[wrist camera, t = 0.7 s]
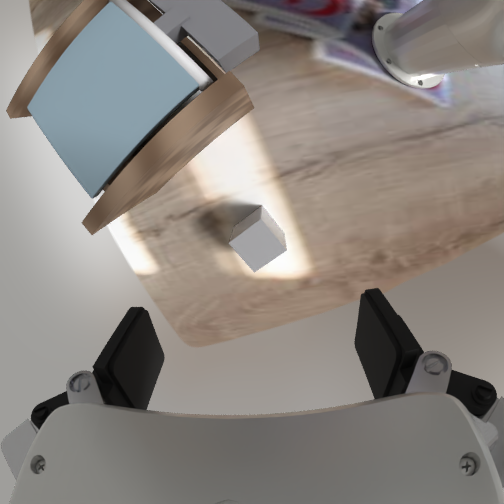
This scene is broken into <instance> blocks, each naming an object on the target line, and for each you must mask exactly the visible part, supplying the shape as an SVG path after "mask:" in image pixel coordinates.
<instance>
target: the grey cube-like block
mask: <svg viewBox="0 0 504 504" xmlns="http://www.w3.org/2000/svg"><path fill="white" fill-rule="evenodd" d="M229 244H230V246H231V247H232V248H233V249H234V250H235V251H236V252H237V253H238V254H239V256H240V257H241V258H242V259H243V260H244V261H245V262H246V263H247V265H248V266H249V267H250V268H251V269H252V270H253V271H254V272H256V271H257V270H259V269H260V268H261V267H263V266H264V265H266V264H267V263H269V262H270V261H272V260H273V259H275V258H276V257H278V256H279V255H280V254H282V253H283V252H285V251H286V250H287V248H286V242H285V236H284V232H283V231H282V230H281V228H280V227H279V226H278V225H277V223H276V222H275V221H274V220H273V218H272V217H271V216H270V215H269V213H268V212H267V211H266V210H265V208H264V207H263V206H261V207H259V208H258V209H257V210H255V211H254V212H253V213H251V214H250V215H249V216H247V217H246V218H245V219H243V220H242V221H241V222H239V223H238V224H237V225H236V226H234V228H233V231H232V234H231V237H230V240H229Z"/></svg>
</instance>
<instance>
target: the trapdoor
mask: <svg viewBox="0 0 504 504" xmlns="http://www.w3.org/2000/svg"><path fill="white" fill-rule="evenodd" d="M149 1H150V2H151V3H152V4H153V5H154V6H155V7H156V8H157V9H158V10H160V11H161V12H162V13H163V14H164V15H162V16H161V17H160V18H159V19H158V20H156V21H155V22H154V23H153V22H152V21H150V20H149V19H148V18H147V17H146V16H145V15H143V14H142V13H141V12H140V11H139V10H137V9H136V8H135V7H134V6H133V5H131V4H130V3H129V2H128V1H126V0H109V3H108V4H107V5H106V6H105V7H104V8H103V9H102V10H101V11H100V12H99V13H98V14H97V15H96V16H95V17H94V18H93V19H92V20H91V21H90V22H89V23H88V24H87V26H86V27H85V28H84V29H83V30H82V31H81V32H80V33H79V35H78V36H77V37H76V38H75V39H74V40H73V42H72V43H71V44H70V45H69V46H68V48H67V49H66V50H65V52H64V53H63V54H62V55H61V57H60V58H59V59H58V61H57V62H56V63H55V65H54V66H53V68H52V69H51V70H50V72H49V73H48V75H47V76H46V78H45V79H44V81H43V82H42V84H41V85H40V87H39V88H38V90H37V92H36V93H35V95H34V97H33V98H32V100H31V102H30V103H29V105H28V107H27V108H28V110H29V112H30V113H31V115H32V116H33V118H34V119H35V121H36V123H37V124H38V126H39V127H40V129H41V130H42V132H43V133H44V135H45V136H46V138H47V139H48V141H49V142H50V143H51V145H52V146H53V148H54V149H55V150H56V152H57V153H58V155H59V156H60V158H61V159H62V160H63V162H64V163H65V164H66V165H67V167H68V168H69V170H70V171H71V172H72V174H73V175H74V176H75V178H76V179H77V180H78V182H79V183H80V184H81V185H82V187H83V188H84V189H85V191H86V192H87V193H88V194H89V196H90V197H91V198H94V197H96V196H98V195H99V193H100V192H101V191H102V190H103V188H104V187H105V186H106V185H107V183H108V182H109V181H110V180H111V178H112V177H113V176H114V175H115V174H116V172H117V171H118V170H119V169H120V168H121V166H122V165H123V164H124V163H125V162H126V161H127V160H128V158H129V157H130V156H131V155H132V154H133V153H134V152H135V151H136V150H137V149H138V147H139V146H140V145H141V144H142V143H143V142H144V141H145V140H146V139H147V138H148V137H149V136H150V135H151V134H152V133H153V132H154V131H155V130H156V129H157V128H158V127H159V126H160V125H161V124H162V123H163V122H164V121H165V120H166V119H167V118H168V117H169V116H170V115H171V114H172V113H173V112H175V111H176V110H177V109H178V108H179V107H180V106H181V105H182V104H183V103H184V102H186V101H187V100H188V99H189V98H190V97H191V96H192V95H194V94H195V93H196V92H197V91H198V90H199V89H200V90H201V91H202V92H203V91H204V90H206V89H207V88H208V87H209V86H210V85H212V84H213V83H214V81H213V80H212V79H211V78H210V77H209V76H208V75H207V74H206V73H205V72H204V71H203V70H202V69H201V68H200V67H199V66H198V65H197V64H196V63H195V62H194V61H193V60H192V59H191V58H190V57H189V56H188V55H187V54H186V53H185V52H184V51H183V50H182V49H181V48H180V47H179V46H178V45H177V44H178V43H179V42H180V41H182V40H183V39H184V38H185V37H187V36H189V37H190V38H192V39H193V40H194V41H195V42H196V43H197V44H198V45H199V46H200V47H201V48H202V49H203V50H204V51H205V52H206V53H207V54H208V55H209V56H210V57H211V58H212V59H213V60H214V61H215V62H216V63H217V64H218V65H219V66H220V67H221V68H222V69H223V70H224V71H225V72H226V73H227V72H228V71H231V70H232V69H233V68H235V67H236V66H237V65H239V64H240V63H242V62H243V61H244V60H246V59H247V58H249V57H250V56H252V55H253V54H255V53H256V52H258V51H259V50H260V48H259V37H258V32H257V31H256V30H255V29H254V28H253V27H251V26H250V25H249V24H248V23H247V22H246V21H245V20H244V19H243V18H241V17H240V16H239V15H238V14H237V13H236V12H235V11H233V10H232V9H231V8H230V7H229V6H227V5H226V4H225V3H224V2H223V1H221V0H149Z"/></svg>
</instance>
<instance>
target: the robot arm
mask: <svg viewBox="0 0 504 504" xmlns="http://www.w3.org/2000/svg"><path fill="white" fill-rule="evenodd" d="M372 44H373V47H374V50H375V53H376V55H377V57H378V59H379V60H380V62H381V63H382V65H383V66H384V67H385V69H386V70H387V71H388V72H389V73H390V74H391V75H392V76H393V77H395V78H396V79H397V80H399V81H400V82H402V83H403V84H406V85H408V86H410V87H414V88H419V89H425V88H431V87H434V86H436V85H437V84H439V83H440V82H441V80H442V79H443V77H444V75H445V74H446V73H451V72H456V71H462V70H467V69H474V68H480V67H487V66H494V65H501V64H504V0H423V1H422V2H420V3H419V4H417V5H416V6H414V7H413V8H411V9H410V10H409V11H407V12H406V13H404V14H402V13H389V14H386V15H384V16H382V17H381V18H380V19H379V20H377V22H376V23H375V25H374V26H373V30H372ZM355 348H356V351H357V353H358V356H359V358H360V361H361V364H362V366H363V369H364V371H365V374H366V377H367V379H368V382H369V385H370V387H371V390H372V393H373V396H374V398H375V399H374V400H369V401H364V402H359V403H354V404H348V405H342V406H336V407H329V408H323V409H315V410H307V411H299V412H288V413H275V414H257V415H199V414H182V413H181V414H180V413H169V412H159V411H150V410H147V407H148V404H149V401H150V398H151V395H152V392H153V390H154V387H155V384H156V381H157V378H158V376H159V373H160V370H161V368H162V365H163V362H164V353H163V350H162V348H161V345H160V343H159V340H158V337H157V335H156V332H155V329H154V327H153V324H152V321H151V319H150V316H149V313H148V311H147V310H145V309H144V308H143V307H131V308H130V309H129V310H128V312H127V313H126V315H125V316H124V318H123V319H122V321H121V322H120V324H119V325H118V327H117V328H116V330H115V332H114V333H113V335H112V336H111V338H110V339H109V341H108V342H107V344H106V346H105V347H104V349H103V350H102V352H101V354H100V355H99V357H98V359H97V361H96V362H95V364H94V365H93V368H94V371H93V372H92V373H91V372H90V371H79V372H77V373H75V374H73V375H72V376H71V377H70V378H69V380H68V381H67V384H66V389H67V391H66V392H64V393H62V394H59V395H57V396H55V397H53V398H51V399H49V400H47V401H45V402H42V403H40V404H38V405H37V406H36V407H35V408H34V409H33V411H32V414H31V421H30V420H29V419H27V420H26V421H24V422H23V423H22V424H21V425H20V426H18V427H17V428H16V429H14V430H13V431H12V432H11V433H9V434H8V435H7V436H6V437H5V438H4V439H3V441H2V443H1V449H2V452H3V454H4V457H5V459H6V461H7V463H8V465H9V467H10V469H11V471H12V473H13V475H14V477H15V479H16V483H15V486H14V490H13V493H12V496H11V500H10V503H9V504H504V492H503V487H504V398H503V397H501V398H500V399H498V398H497V393H496V390H495V388H494V387H493V385H491V384H490V383H489V382H487V381H485V380H481V379H478V378H475V377H472V376H469V375H466V374H463V373H460V372H457V371H454V370H451V369H452V364H451V361H450V359H449V358H448V357H447V356H446V355H445V354H443V353H441V352H438V351H427V352H425V353H424V351H423V350H422V348H421V347H420V345H419V344H418V342H417V341H416V339H415V337H414V336H413V334H412V333H411V332H410V330H409V328H408V327H407V325H406V324H405V322H404V321H403V319H402V318H401V317H400V316H399V315H397V314H396V312H395V311H394V309H393V308H392V306H391V305H390V303H389V302H388V301H387V299H386V298H385V297H384V295H383V294H382V292H381V291H380V289H379V288H375V289H368V290H365V293H363V294H361V299H360V307H359V315H358V322H357V329H356V336H355Z"/></svg>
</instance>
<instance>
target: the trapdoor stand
mask: <svg viewBox="0 0 504 504" xmlns="http://www.w3.org/2000/svg"><path fill="white" fill-rule="evenodd" d="M126 1H128V2H129V3H130V4H131V5H133V6H134V7H135V8H136V9H137V10H139V11H140V12H141V13H142V14H143V15H145V16H146V17H147V18H148V19H149V20H150V21H152V22H153V23H154V22H155V21H156V20H158V19H159V18H160V17H161V16H162V14H161V13H160V12H159V11H158V10H157V9H156V8H155V7H154V6H153V5H152V4H151V3H150V2H149V1H147V0H126ZM108 3H109V0H84V1H83V2H82V3H81V4H80V5H79V6H78V7H77V8H76V9H75V10H74V11H73V12H72V13H71V14H70V16H69V17H68V18H67V19H66V20H65V21H64V23H63V24H62V25H61V26H60V27H59V29H58V30H57V31H56V32H55V34H54V35H53V36H52V37H51V39H50V40H49V41H48V43H47V44H46V45H45V47H44V48H43V50H42V51H41V52H40V54H39V55H38V57H37V58H36V60H35V61H34V63H33V64H32V66H31V67H30V69H29V70H28V72H27V74H26V75H25V77H24V79H23V80H22V82H21V84H20V85H19V87H18V89H17V91H16V93H15V94H14V96H13V98H12V100H11V102H10V104H9V106H8V108H7V110H6V111H7V113H8V115H9V117H10V118H19V117H27V116H32V115H31V113H30V112H29V110H28V108H27V107H28V105H29V103H30V102H31V100H32V98H33V97H34V95H35V93H36V92H37V90H38V88H39V87H40V85H41V84H42V82H43V81H44V79H45V78H46V76H47V75H48V73H49V72H50V70H51V69H52V68H53V66H54V65H55V63H56V62H57V61H58V59H59V58H60V57H61V55H62V54H63V53H64V52H65V50H66V49H67V48H68V46H69V45H70V44H71V43H72V42H73V40H74V39H75V38H76V37H77V36H78V35H79V33H80V32H81V31H82V30H83V29H84V28H85V27H86V26H87V24H88V23H89V22H90V21H91V20H92V19H93V18H94V17H95V16H96V15H97V14H98V13H99V12H100V11H101V10H102V9H103V8H104V7H105V6H106V5H107V4H108ZM180 42H181V43H182V44H183V45H185V46H186V47H187V48H188V49H189V50H190V51H191V52H192V53H193V54H194V55H195V56H196V57H197V58H198V59H199V60H200V61H201V62H202V63H203V64H204V65H205V66H206V67H207V68H208V69H209V70H210V71H211V72H212V73H213V74H214V75H215V76H216V77H217V79H218V80H217V81H215V82H214V83H213V84H212V85H210V86H209V87H208V88H207V89H206V90H204V91H203V92H202V93H201V94H200V95H198V96H197V97H196V98H195V99H194V100H193V101H191V102H190V103H189V104H188V105H187V106H186V107H185V108H183V109H182V110H181V111H180V112H179V113H178V114H177V115H176V116H175V117H174V118H173V119H171V120H170V121H169V122H168V123H167V124H166V125H165V126H164V127H163V128H162V129H161V130H160V131H159V132H158V133H157V134H156V135H155V136H154V137H153V138H152V139H151V140H150V141H149V142H148V143H147V144H146V145H145V146H144V147H143V148H142V150H141V151H140V152H139V153H138V154H137V155H136V156H135V157H133V156H132V155H131V156H130V157H129V158H128V160H127V161H126V162H125V163H124V164H123V165H122V166H121V168H120V169H119V170H118V171H117V172H116V174H115V175H114V176H113V177H112V178H111V180H110V181H109V182H108V183H107V185H106V186H105V187H104V188H103V190H104V191H105V192H104V194H103V195H102V196H101V197H100V199H99V200H98V201H97V203H96V204H95V205H94V206H93V208H92V209H91V211H90V212H89V213H88V215H87V216H86V217H85V219H84V220H83V222H82V224H83V225H84V226H85V227H86V229H87V230H88V231H89V232H90V233H91V235H93V234H95V233H96V232H97V231H99V230H100V229H102V228H103V227H104V226H106V225H107V224H109V223H110V222H112V221H113V220H115V219H116V218H118V217H119V216H121V215H122V214H124V213H125V212H127V211H128V210H130V209H131V208H133V207H134V206H136V205H138V204H139V203H141V202H142V201H144V200H145V199H147V198H149V197H150V196H152V195H154V194H155V193H157V192H158V191H159V190H160V189H161V188H162V187H163V186H164V185H165V184H166V183H167V182H168V181H169V180H170V179H171V178H172V177H173V176H174V175H175V174H176V173H177V172H178V171H179V170H180V169H182V168H183V167H184V166H185V165H186V164H187V163H188V162H189V161H190V160H191V159H193V158H194V157H195V156H196V155H197V154H198V153H199V152H201V151H202V150H203V149H204V148H205V147H206V146H207V145H209V144H210V143H211V142H212V141H213V140H215V139H216V138H217V137H218V136H219V135H221V134H222V133H223V132H224V131H225V130H227V129H228V128H229V127H230V126H232V125H233V124H234V123H235V122H237V121H238V120H239V119H240V118H242V117H243V116H244V115H246V114H247V113H248V112H250V111H251V110H252V109H254V106H253V104H252V102H251V100H250V97H249V95H248V93H247V91H246V89H245V87H244V85H243V84H242V83H241V82H240V81H239V80H238V79H237V78H236V77H235V76H234V75H233V74H232V73H231V72H230V71H228V72H227V73H226V74H224V73H223V72H222V71H221V70H220V69H219V68H218V67H217V66H216V65H215V64H214V63H213V62H212V61H211V60H210V59H209V58H208V57H207V56H206V55H205V54H204V53H203V52H202V51H201V50H200V49H199V48H198V47H197V46H196V45H195V44H194V43H193V42H191V41H190V40H189V39H188V38H187V37H185V38H184V39H183V40H182V41H180Z"/></svg>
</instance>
